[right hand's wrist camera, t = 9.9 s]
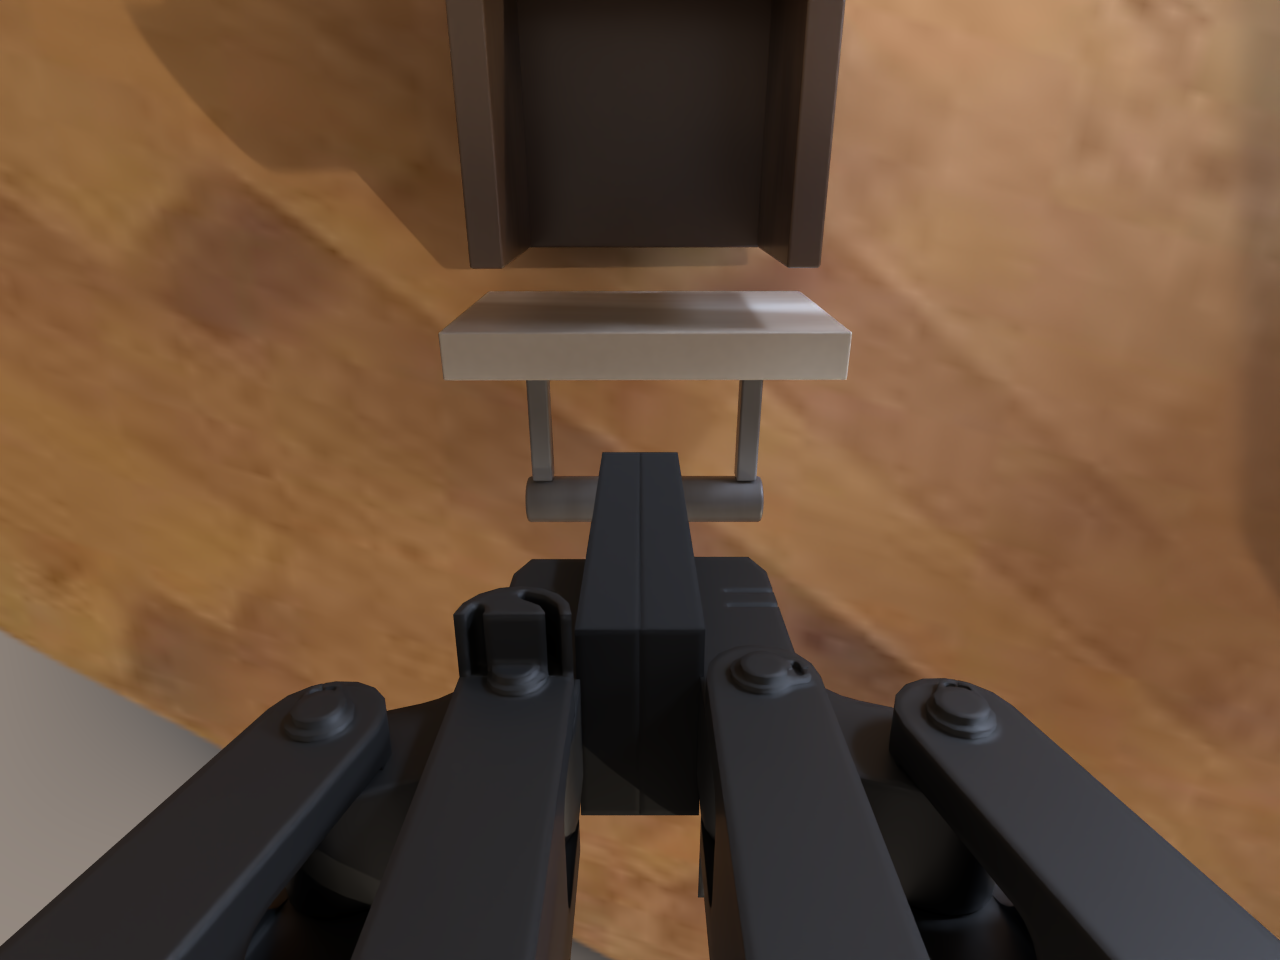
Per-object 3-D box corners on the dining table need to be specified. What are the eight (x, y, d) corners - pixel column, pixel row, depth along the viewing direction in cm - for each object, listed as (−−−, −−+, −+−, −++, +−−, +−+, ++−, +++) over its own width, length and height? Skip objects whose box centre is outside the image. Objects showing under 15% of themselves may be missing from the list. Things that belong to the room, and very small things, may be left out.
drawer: (784, 474, 26) (826, 563, 20) (503, 474, 26) (463, 563, 20) (873, -580, 16) (1008, -1008, 10) (415, -578, 16) (285, -1004, 10)
